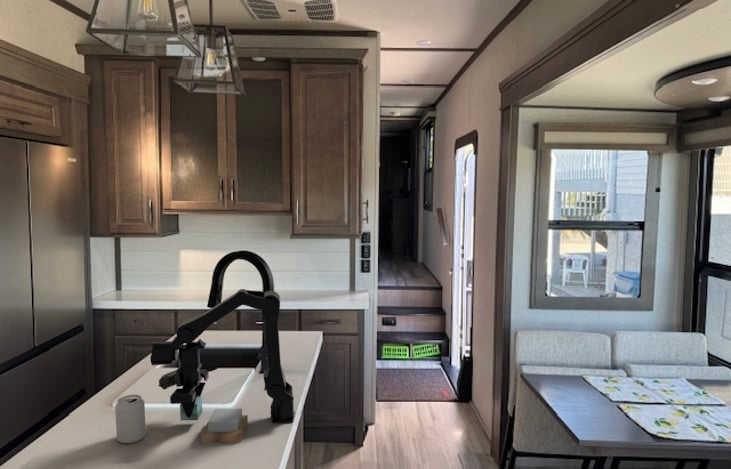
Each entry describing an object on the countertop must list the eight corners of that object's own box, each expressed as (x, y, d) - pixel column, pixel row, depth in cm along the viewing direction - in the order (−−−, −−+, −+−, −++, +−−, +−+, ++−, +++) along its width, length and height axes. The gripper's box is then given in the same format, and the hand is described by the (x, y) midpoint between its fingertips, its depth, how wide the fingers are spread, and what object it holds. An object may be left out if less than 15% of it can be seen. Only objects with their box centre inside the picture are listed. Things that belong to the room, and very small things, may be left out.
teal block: (202, 412, 152) (201, 396, 152) (197, 420, 147) (197, 403, 147) (185, 412, 152) (185, 397, 152) (180, 420, 147) (179, 404, 147)
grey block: (242, 418, 149) (241, 408, 149) (236, 431, 142) (236, 421, 141) (215, 418, 149) (214, 409, 149) (208, 432, 141) (207, 422, 141)
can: (134, 446, 138) (132, 405, 137) (110, 443, 139) (108, 402, 138) (151, 433, 145) (149, 393, 144) (128, 430, 147) (126, 391, 145)
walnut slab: (247, 424, 152) (247, 415, 151) (241, 443, 141) (240, 433, 140) (211, 425, 151) (210, 416, 151) (201, 444, 140) (201, 434, 140)
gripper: (172, 352, 157) (174, 399, 158) (150, 375, 138) (152, 429, 140) (208, 351, 157) (209, 399, 159) (190, 374, 139) (193, 428, 141)
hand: (191, 412), depth 150 cm, fingers closed on teal block, 5 cm apart
